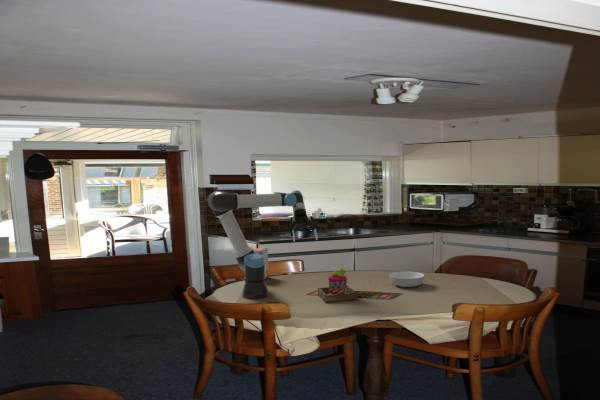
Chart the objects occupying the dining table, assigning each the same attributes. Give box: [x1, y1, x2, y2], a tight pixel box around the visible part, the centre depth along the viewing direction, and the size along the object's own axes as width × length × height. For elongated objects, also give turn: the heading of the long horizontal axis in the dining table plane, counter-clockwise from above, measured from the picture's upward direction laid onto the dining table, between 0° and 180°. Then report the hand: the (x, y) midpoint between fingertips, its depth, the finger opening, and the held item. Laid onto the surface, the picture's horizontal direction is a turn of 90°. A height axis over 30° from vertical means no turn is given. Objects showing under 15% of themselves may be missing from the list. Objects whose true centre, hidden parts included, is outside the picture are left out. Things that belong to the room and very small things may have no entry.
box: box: [317, 285, 359, 304], centre depth 261 cm, size 18×18×4 cm
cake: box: [327, 268, 348, 295], centre depth 260 cm, size 10×11×15 cm
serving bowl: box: [388, 270, 426, 288], centre depth 283 cm, size 21×21×7 cm
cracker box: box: [253, 246, 270, 280], centre depth 311 cm, size 14×6×21 cm, turn 160°
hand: (305, 239), depth 271 cm, fingers open, 13 cm apart
